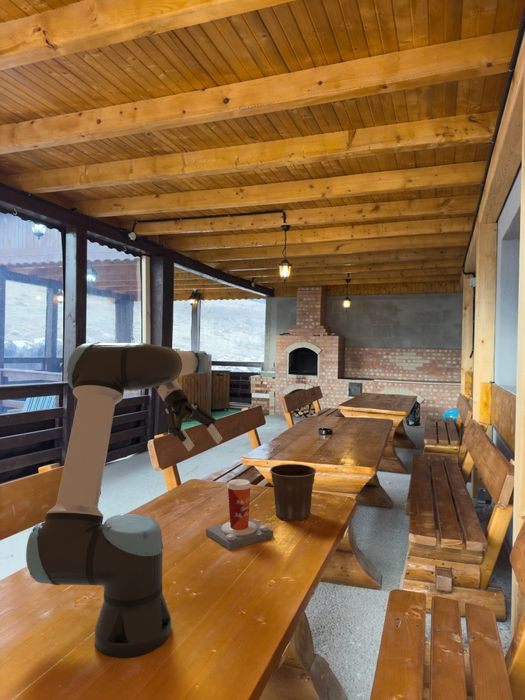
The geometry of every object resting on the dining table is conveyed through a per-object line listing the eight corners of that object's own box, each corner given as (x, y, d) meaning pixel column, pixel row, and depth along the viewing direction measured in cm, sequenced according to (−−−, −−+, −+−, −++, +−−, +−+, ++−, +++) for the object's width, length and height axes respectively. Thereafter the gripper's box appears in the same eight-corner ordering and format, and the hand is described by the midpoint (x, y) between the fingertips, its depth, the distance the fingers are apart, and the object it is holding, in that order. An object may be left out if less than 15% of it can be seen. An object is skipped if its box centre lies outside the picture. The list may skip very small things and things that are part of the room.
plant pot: (318, 524, 157) (318, 475, 157) (270, 524, 157) (269, 475, 157) (314, 507, 173) (313, 463, 173) (270, 507, 173) (270, 463, 173)
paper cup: (240, 533, 142) (240, 487, 142) (222, 527, 147) (221, 482, 147) (256, 525, 148) (256, 481, 148) (238, 520, 153) (237, 477, 153)
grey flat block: (229, 549, 137) (229, 539, 137) (206, 534, 148) (206, 525, 148) (273, 536, 146) (273, 527, 146) (248, 523, 158) (248, 514, 158)
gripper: (193, 399, 172) (224, 445, 163) (139, 406, 152) (172, 459, 143) (204, 385, 169) (236, 431, 160) (150, 391, 149) (184, 444, 140)
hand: (206, 444), depth 152 cm, fingers open, 13 cm apart
